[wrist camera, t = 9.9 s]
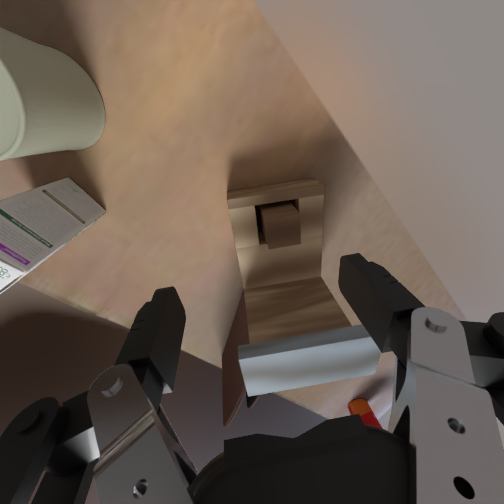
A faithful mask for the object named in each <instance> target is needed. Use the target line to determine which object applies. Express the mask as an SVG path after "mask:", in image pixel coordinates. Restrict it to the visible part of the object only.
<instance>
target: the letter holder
mask: <svg viewBox="0 0 504 504" xmlns="http://www.w3.org/2000/svg"><path fill="white" fill-rule="evenodd" d="M246 344H250V341H249V332H248V323H247V314H246V305H245V296H244V290H243V293H242V297H241V300H240V303H239V307H238V310H237V313H236V316H235V319H234V322H233V325H232V328H231V331H230V335H229V338H228V341H227V344H226V347H225V351H224V354H223V356H222V401H223V425H224V426H225V427H228V426H229V425H230V423H231V422H232V420H233V418H234V416H235V415H236V413H237V411H238V409H239V407H240V405H241V402H242V400H243V398H244V396H245V393H246V398H247V407H248V408H251V407H252V406H253V405H254V404H255V402H256V401H257V399H258V398H259V396H260V395H261V394H260V395H255V396H249V397H248V394H247V390H246V386H245V382H244V379H243V375H242V371H241V367H240V363H239V356H238V346H240V345H246ZM273 393H274V392H272V393H268V394H269V395H271V394H273Z"/></svg>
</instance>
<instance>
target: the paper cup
mask: <svg viewBox="0 0 504 504" xmlns="http://www.w3.org/2000/svg"><path fill="white" fill-rule="evenodd" d="M348 409H349V412H350V414H351V415H355V414H360V416H361V418H362V421H363V423H364V424H367V425H371V426H375V427H379V428H381V429H382V427H381V426H380V424H379V422H378V420H377V418H376V417H375V415H374V413H373V411H372V410H371V408H370V406H369V404H368V403H367V401H366V400H365V399H355V400H353V401H351V402H350V403H349V404H348Z"/></svg>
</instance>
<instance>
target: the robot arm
mask: <svg viewBox="0 0 504 504" xmlns="http://www.w3.org/2000/svg"><path fill="white" fill-rule="evenodd" d="M338 283H339V288H340V291H341V293H342V295H343V296H344V298H345V299H346V300H347V302H348V303H349V305H350V306H351V308H352V309H353V311H354V312H355V314H356V315H357V317H358V318H359V320H360V321H361V323H362V324H363V326H364V327H365V329H366V330H367V332H368V333H369V335H370V336H371V338H372V339H373V341H374V342H375V344H376V345H377V346H378V348H379V349H380V351H381V352H382V353H384V352H389V351H393V352H394V354H395V355H396V356H397V357H396V360H395V372H394V387H393V401H392V410H391V415H390V420H389V425H388V431H386V430H384V429H381V428H379V427H375V426H371V425H367V424H364V423H363V421H362V418H361V416H360V414H355V415H350V416H345V417H340V418H335V419H330V420H326V421H324V422H323V423H321V424H319V425H318V426H315V427H314V428H312V429H310V430H309V431H307V432H305V433H303V434H302V435H300V436H298V437H296V438H286V437H279V436H271V435H264V434H254V435H248V436H243V437H238V438H233V439H228V440H224V452H222V453H220V454H219V455H217V456H216V457H215V458H213V459H212V460H211V461H210V462H209V463H208V464H207V465H206V466H205V467H204V468H203V469H202V470H201V472H200V473H198V471H197V469H196V467H195V466H194V464H193V462H192V461H191V459H190V457H189V456H188V454H187V453H186V451H185V450H184V448H183V446H182V445H181V443H180V441H179V439H178V437H177V435H176V433H175V431H174V429H173V428H172V425H171V424H170V422H169V420H168V418H167V416H166V414H165V413H164V411H163V408H162V407H161V405H160V402H161V397H162V394H165V393H170V392H172V391H173V386H174V381H175V376H176V370H177V365H178V359H179V354H180V349H181V344H182V338H183V333H184V328H185V322H186V315H185V310H184V307H183V305H182V303H181V300H180V298H179V296H178V294H177V291H176V289H175V288H174V287H173V286H172V287H167V288H161V289H157V290H156V291H155V293H154V295H153V298H152V300H151V302H146V303H145V304H144V305H143V307H142V308H141V309H140V310H139V311H138V313H137V315H136V317H135V320H134V323H133V324H132V326H131V329H130V332H129V333H128V335H127V338H126V340H125V342H124V344H123V347H122V349H121V351H120V354H119V356H118V358H117V360H116V363H115V365H114V366H113V367H110V368H109V369H107V370H106V371H104V372H103V373H102V374H101V375H100V376H98V377H97V379H96V380H95V381H94V382H93V384H92V385H91V387H90V389H89V390H88V391H86V392H84V393H82V394H79V395H77V396H75V397H73V398H71V399H69V400H67V401H65V402H63V403H60V402H59V401H58V400H57V399H55V398H53V397H46V398H43V399H40V400H38V401H36V402H34V403H32V404H31V405H29V406H28V407H26V408H25V409H24V410H22V411H21V412H20V413H19V414H18V415H17V416H16V417H15V418H14V419H13V420H12V421H11V423H10V424H9V425H8V426H7V428H6V429H5V431H4V432H3V434H2V435H1V437H0V504H28V502H29V500H30V497H31V495H32V493H33V491H34V489H35V487H36V485H37V483H38V481H39V478H40V476H41V474H42V472H43V470H44V471H46V473H45V475H44V477H43V479H42V481H41V483H40V486H39V488H38V490H37V492H36V494H35V497H34V499H33V501H32V503H31V504H84V503H85V500H86V497H87V494H88V491H89V488H90V485H91V482H92V479H93V476H94V479H95V484H96V489H97V493H98V498H99V503H100V504H504V449H503V445H502V441H501V437H500V433H499V429H498V425H497V421H496V417H497V418H498V419H499V420H500V422H501V423H502V424H503V425H504V312H499V313H495V314H493V315H492V316H491V318H490V319H489V321H488V322H487V323H481V322H468V321H458V320H457V319H456V318H455V317H453V316H452V315H450V314H449V313H447V312H445V311H442V310H440V309H436V308H431V307H426V306H424V305H423V304H422V303H421V302H420V301H419V300H418V299H417V298H416V297H415V296H414V295H413V294H412V293H411V292H409V291H408V290H407V289H406V288H405V287H404V286H403V285H402V284H401V283H400V282H398V280H397V279H396V278H394V277H393V276H391V274H390V273H389V272H388V271H387V270H386V269H385V268H384V267H382V266H380V265H378V264H376V263H374V262H368V261H367V260H366V259H365V258H364V257H363V256H362V255H361V254H359V253H356V254H350V255H345V256H342V257H341V259H340V268H339V280H338ZM99 457H100V460H99ZM98 460H99V461H98Z"/></svg>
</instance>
